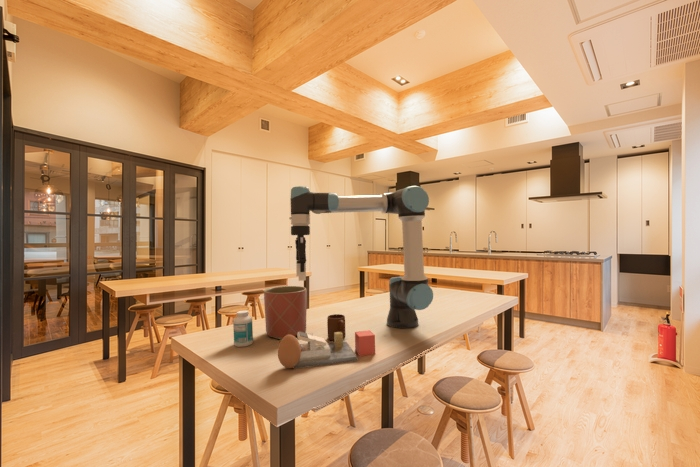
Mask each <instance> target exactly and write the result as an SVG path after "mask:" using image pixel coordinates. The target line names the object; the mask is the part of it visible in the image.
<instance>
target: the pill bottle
mask: <svg viewBox="0 0 700 467" xmlns="http://www.w3.org/2000/svg"><path fill="white" fill-rule="evenodd" d="M232 323H233V326H232V327H233V345H234V346H235V347H237V348H242V347H243V348H244V347H248V346H250V345H252V344H253V343H254V336H253V335H254V334H253V333H254V331H253V329H254V328H253V318H252V316H250V315H249V310H247V309H245V310H239V311H236V316H235V317H234V319H233V321H232Z"/></svg>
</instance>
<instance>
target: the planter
mask: <svg viewBox="0 0 700 467" xmlns="http://www.w3.org/2000/svg"><path fill="white" fill-rule="evenodd" d="M307 289H308V288H306V287H305V286H297V285H293V286H292V285H288V286H287V285H286V286H285V285H284V286H275V287H270V288H265V290H263V300H264V301H263V302H264V305H263V306H264V318H265V320H264V321H265V334H266V335H267V336H268V337H270V338H274V339H277V340H280V341H281V340H282V339H283V337H285V336H286V335H293V336H295V337H296V336H297V333H298V332H299V331H300V332H304V333H306V332H307V310H308V309H307V303H308V301H307V296H308V295H307V294H308V293H307Z"/></svg>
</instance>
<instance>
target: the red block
mask: <svg viewBox="0 0 700 467" xmlns="http://www.w3.org/2000/svg"><path fill="white" fill-rule="evenodd" d="M354 344H355V345H354V349H355V350H354V351H356V352H355V353H356V354H358V356H361V357H362V356H369V355H370V356H371V355H376V335H375V334H374V332H372V331H371V329H370V330H361V331H360V330H358V331H354Z"/></svg>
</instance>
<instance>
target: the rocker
mask: <svg viewBox="0 0 700 467" xmlns="http://www.w3.org/2000/svg"><path fill="white" fill-rule="evenodd" d="M309 334H310V333H304V332H300V331H299V332H298V333H297V335H296V336H297V337H296V338H297V340H298V341H299V340H301V341H304V342H307V343H308V342H310V339H316V344H319V345H323V346H326V340H325V338H324V337H320V336H316V335H314V334H313V335H309Z"/></svg>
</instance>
